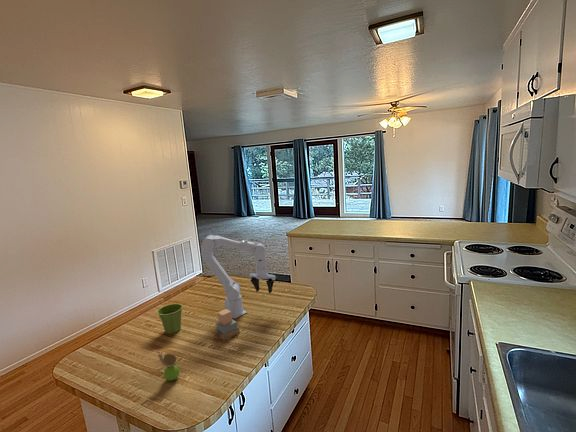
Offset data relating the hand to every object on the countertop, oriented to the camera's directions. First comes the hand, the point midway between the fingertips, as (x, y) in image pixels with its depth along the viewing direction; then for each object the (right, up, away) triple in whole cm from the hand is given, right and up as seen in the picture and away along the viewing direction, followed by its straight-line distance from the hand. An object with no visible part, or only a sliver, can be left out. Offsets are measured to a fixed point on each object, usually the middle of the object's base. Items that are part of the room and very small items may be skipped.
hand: (264, 291), depth 160 cm
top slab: (-16, -13, -18) cm, 27 cm away
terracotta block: (-16, -10, -18) cm, 26 cm away
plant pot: (-44, -17, -10) cm, 48 cm away
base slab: (-16, -15, -18) cm, 28 cm away
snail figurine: (-31, -21, -46) cm, 59 cm away
